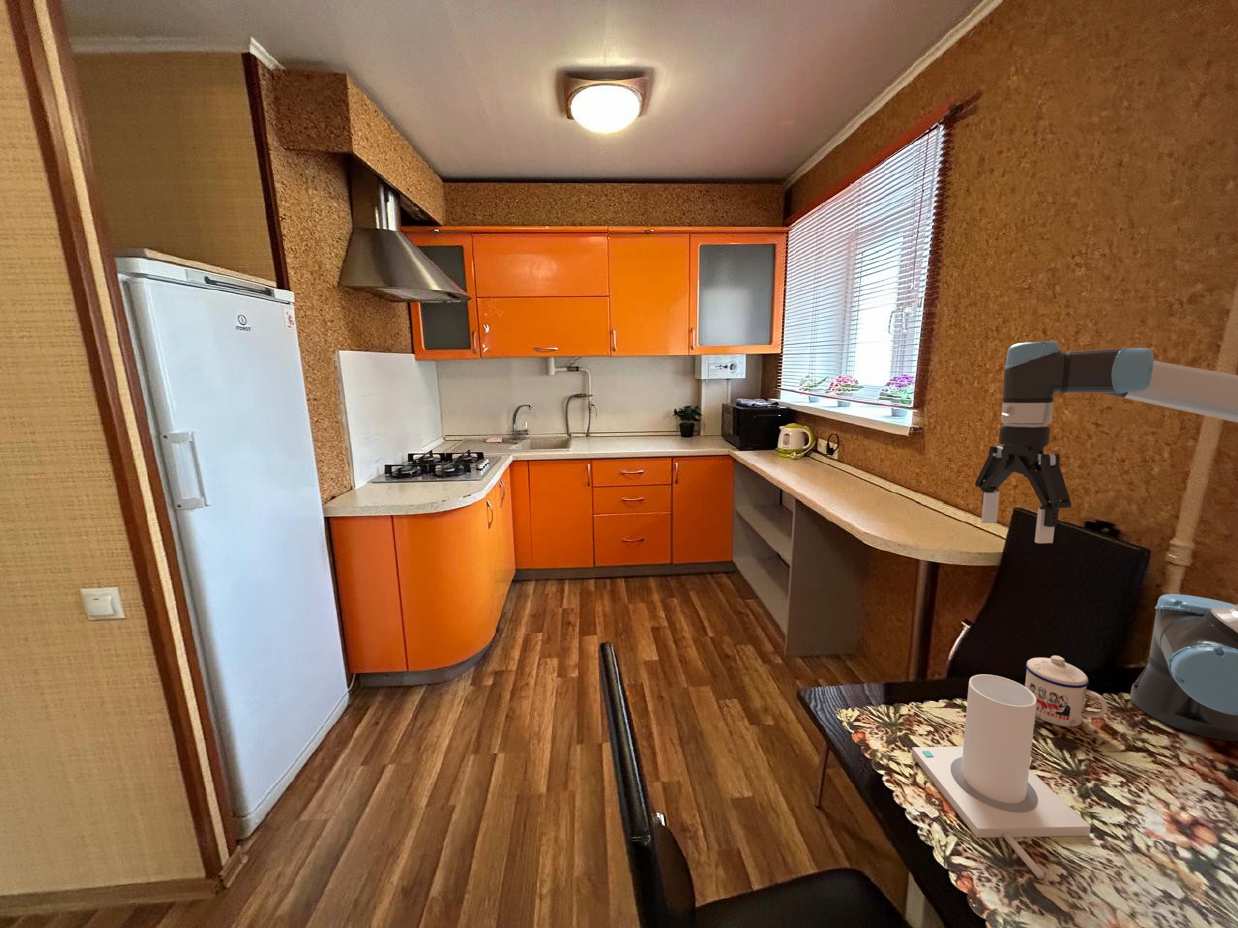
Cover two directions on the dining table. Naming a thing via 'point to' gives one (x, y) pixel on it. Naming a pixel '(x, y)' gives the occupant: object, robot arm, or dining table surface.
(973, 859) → the dining table surface
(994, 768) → the cup
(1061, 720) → the teacup with lid
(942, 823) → the dining table surface
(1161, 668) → the robot arm
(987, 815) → the pad
